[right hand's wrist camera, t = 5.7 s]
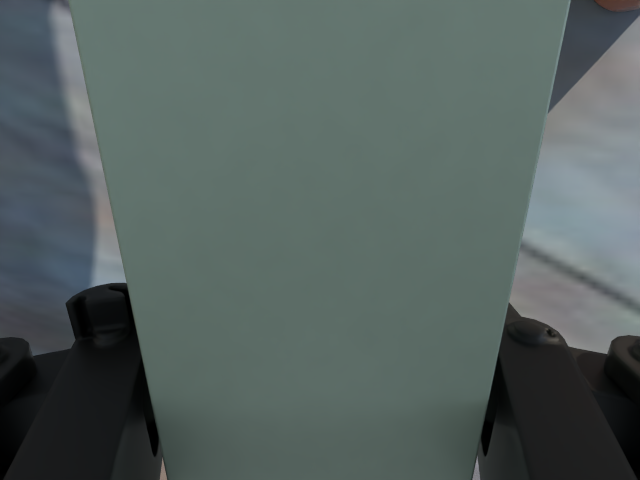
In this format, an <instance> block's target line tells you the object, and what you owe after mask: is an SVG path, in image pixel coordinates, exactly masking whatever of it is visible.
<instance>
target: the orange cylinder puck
mask: <svg viewBox="0 0 640 480" xmlns="http://www.w3.org/2000/svg"><path fill="white" fill-rule="evenodd" d="M595 1H596V2H597V3H598V4H599V5H600V6H602V7H603V8H606V9H608V10H611V11H616V12H626V11H632V10H636V9H640V0H595Z"/></svg>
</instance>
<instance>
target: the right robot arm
mask: <svg viewBox="0 0 640 480" xmlns="http://www.w3.org/2000/svg"><path fill="white" fill-rule="evenodd" d="M66 307H67V311H68V314H69V318H70V321H71V325H72V329H73V332H74V336H75V339H76V340H75V342H74V344H73V346H72V348H71V349H67V350H62V351H57V352H52V353H46V354H41V355H36V356H33V355H32V352H31V349H30V346H29V343H28V342H27V341H25V340H24V339H22V338H14V337H9V338H0V480H160V473H161V465H162V457H163V456H162V451H161V446H160V441H159V436H158V432H157V427H156V422H155V417H154V412H153V407H152V403H151V398H150V393H149V388H148V383H147V378H146V374H145V369H144V364H143V359H142V354H141V349H140V345H139V340H138V335H137V330H136V325H135V320H134V316H133V311H132V306H131V301H130V296H129V291H128V287H127V283H110V284H104V285H99V286H95V287H92V288H89V289H87V290H84V291H82V292H80V293H78V294H76V295H75V296H73V297H72V298H71V299H70V300H69V301H67V302H66ZM477 456H478V464H479V472H480V480H640V336H631V335H627V336H619V337H617V338H615V339H614V340H612V342H611V345H610V348H609V351H608V354H603V353H598V352H593V351H587V350H582V349H577V348H572V347H568V345H567V343H566V341H565V339H564V338H563V337H562V336H561V335H560V333H559V332H558V331H556V330H555V329H553V328H552V327H550V326H549V325H547V324H544V323H542V322H539V321H537V320H534V319H530V318H525V317H521V316H520V315H519V314H518V312H517V311H516V310H515V309H514V308H513V307H512V305H511V304H510V303H508V308H507V313H506V318H505V323H504V328H503V332H502V337H501V342H500V347H499V352H498V357H497V362H496V366H495V371H494V376H493V381H492V386H491V391H490V395H489V400H488V405H487V410H486V415H485V420H484V425H483V429H482V434H481V439H480V444H479V449H478V454H477Z"/></svg>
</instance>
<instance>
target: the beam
mask: <svg viewBox="0 0 640 480" xmlns="http://www.w3.org/2000/svg"><path fill="white" fill-rule="evenodd" d="M68 1H69V6H70V11H71V16H72V21H73V25H74V30H75V35H76V40H77V45H78V50H79V55H80V59H81V64H82V69H83V74H84V79H85V84H86V88H87V93H88V98H89V103H90V108H91V113H92V117H93V122H94V127H95V132H96V137H97V142H98V146H99V151H100V156H101V161H102V166H103V171H104V175H105V180H106V185H107V190H108V195H109V200H110V204H111V209H112V214H113V219H114V224H115V229H116V233H117V238H118V243H119V248H120V253H121V258H122V262H123V267H124V272H125V277H126V282H127V287H128V291H129V296H130V301H131V306H132V311H133V316H134V320H135V325H136V330H137V335H138V340H139V345H140V349H141V354H142V359H143V364H144V369H145V374H146V378H147V383H148V388H149V393H150V398H151V403H152V407H153V412H154V417H155V422H156V427H157V432H158V436H159V441H160V446H161V451H162V456H163V461H164V465H165V470H166V475H167V480H472V478H473V473H474V468H475V463H476V458H477V454H478V449H479V444H480V439H481V434H482V429H483V425H484V420H485V415H486V410H487V405H488V400H489V395H490V391H491V386H492V381H493V376H494V371H495V366H496V362H497V357H498V352H499V347H500V342H501V337H502V332H503V328H504V323H505V318H506V313H507V308H508V303H509V298H510V294H511V289H512V284H513V279H514V274H515V269H516V265H517V260H518V255H519V250H520V245H521V240H522V235H523V231H524V226H525V221H526V216H527V211H528V206H529V201H530V197H531V192H532V187H533V182H534V177H535V172H536V168H537V163H538V158H539V153H540V148H541V143H542V138H543V134H544V129H545V124H546V119H547V114H548V109H549V104H550V100H551V95H552V90H553V85H554V80H555V75H556V71H557V66H558V61H559V56H560V51H561V46H562V41H563V37H564V32H565V27H566V22H567V17H568V12H569V7H570V3H571V0H68Z"/></svg>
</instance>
